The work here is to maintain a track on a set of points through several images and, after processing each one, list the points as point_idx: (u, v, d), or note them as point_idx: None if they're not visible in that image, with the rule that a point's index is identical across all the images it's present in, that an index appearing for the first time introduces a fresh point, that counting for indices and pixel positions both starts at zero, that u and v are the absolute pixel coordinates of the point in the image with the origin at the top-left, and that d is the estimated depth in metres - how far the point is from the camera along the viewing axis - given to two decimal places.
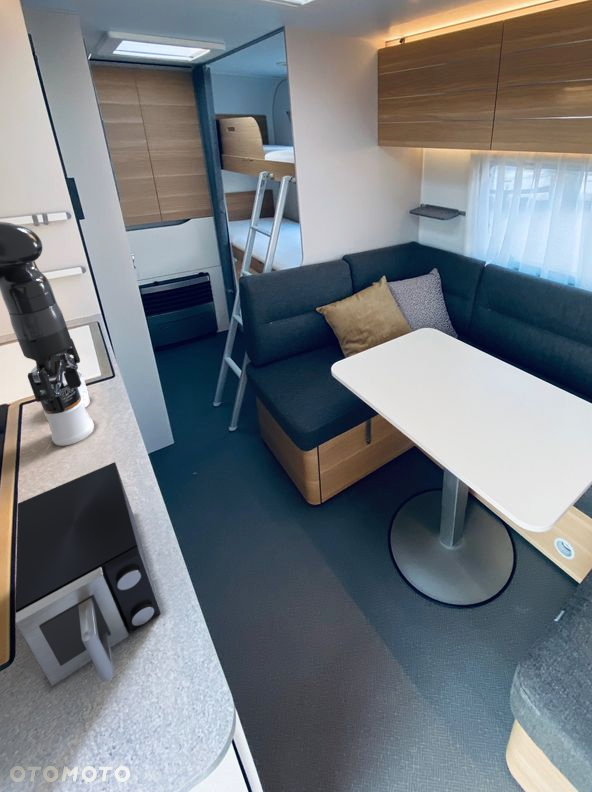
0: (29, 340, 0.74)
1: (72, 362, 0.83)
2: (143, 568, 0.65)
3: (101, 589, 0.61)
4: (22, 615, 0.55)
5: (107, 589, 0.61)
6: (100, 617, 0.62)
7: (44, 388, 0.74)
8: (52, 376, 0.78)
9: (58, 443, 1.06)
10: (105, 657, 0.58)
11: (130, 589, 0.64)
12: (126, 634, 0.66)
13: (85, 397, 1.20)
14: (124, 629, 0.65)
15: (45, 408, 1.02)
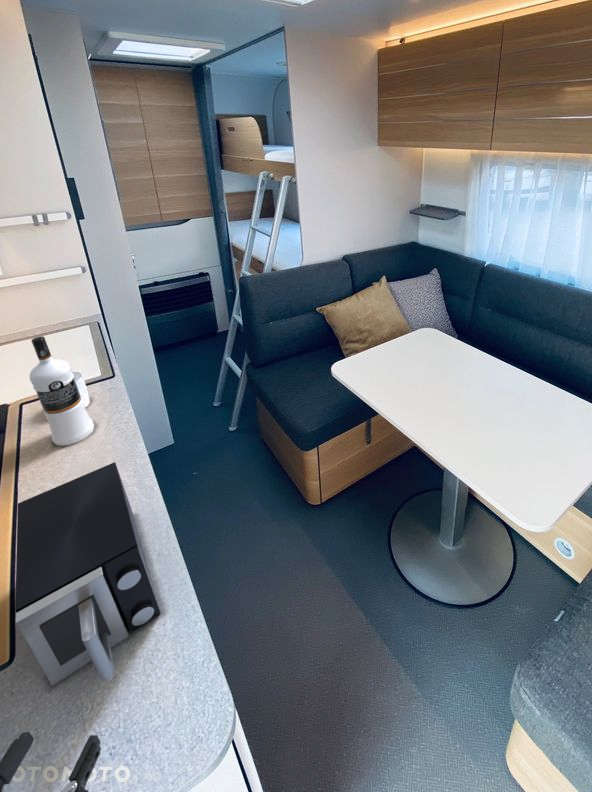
0: None
1: None
2: (143, 568, 0.65)
3: (101, 589, 0.61)
4: (22, 615, 0.55)
5: (107, 589, 0.61)
6: (100, 617, 0.62)
7: None
8: None
9: (58, 443, 1.06)
10: (105, 657, 0.58)
11: (130, 589, 0.64)
12: (126, 634, 0.66)
13: (85, 397, 1.20)
14: (124, 629, 0.65)
15: (45, 408, 1.02)
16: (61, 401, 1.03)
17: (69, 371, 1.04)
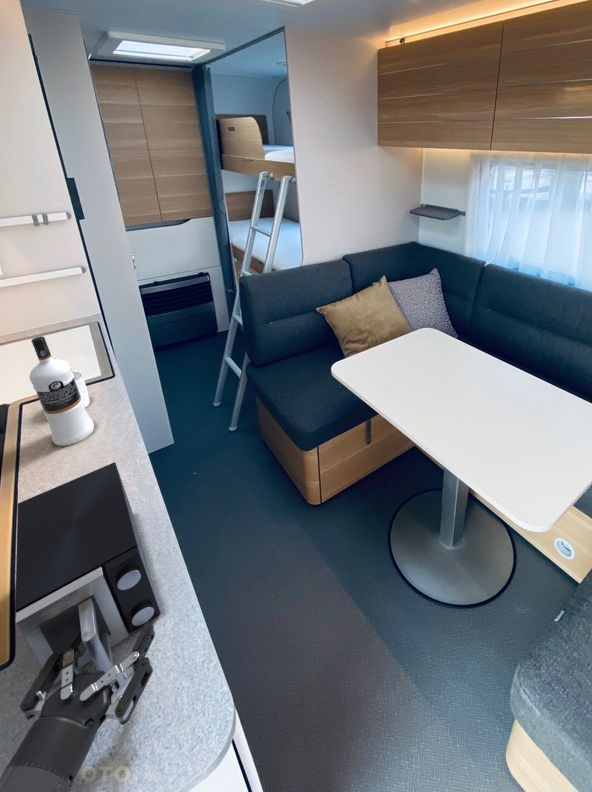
0: (70, 782, 0.47)
1: (68, 671, 0.55)
2: (143, 568, 0.65)
3: (101, 589, 0.61)
4: (22, 615, 0.55)
5: (107, 589, 0.61)
6: (100, 617, 0.62)
7: (138, 685, 0.54)
8: (109, 683, 0.54)
9: (58, 443, 1.06)
10: (105, 657, 0.58)
11: (130, 589, 0.64)
12: (126, 634, 0.66)
13: (85, 397, 1.20)
14: (124, 629, 0.65)
15: (45, 408, 1.02)
16: (61, 401, 1.03)
17: (69, 371, 1.04)
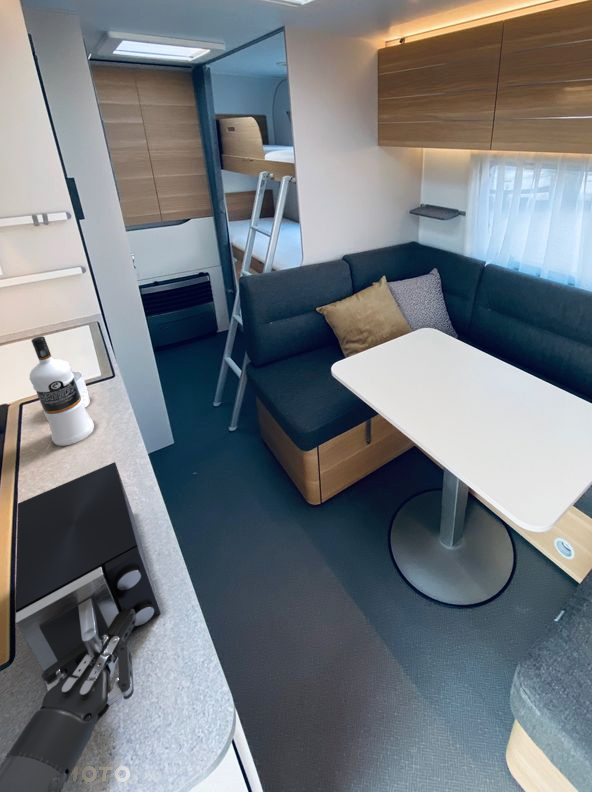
0: (66, 776, 0.47)
1: (86, 662, 0.56)
2: (143, 568, 0.65)
3: (101, 588, 0.61)
4: (22, 615, 0.55)
5: (107, 589, 0.61)
6: (100, 617, 0.62)
7: (129, 662, 0.56)
8: (109, 679, 0.55)
9: (58, 443, 1.06)
10: None
11: (130, 589, 0.64)
12: None
13: (85, 397, 1.20)
14: None
15: (45, 408, 1.02)
16: (61, 401, 1.03)
17: (69, 371, 1.04)
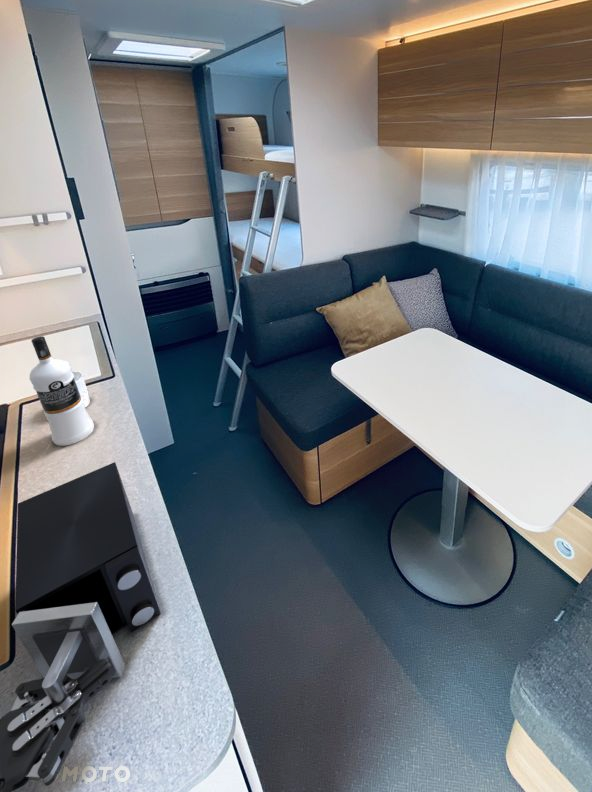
0: None
1: (42, 705, 0.52)
2: (143, 568, 0.65)
3: (90, 626, 0.56)
4: (20, 619, 0.55)
5: (96, 628, 0.57)
6: (90, 650, 0.58)
7: (67, 739, 0.49)
8: (45, 744, 0.49)
9: (58, 443, 1.06)
10: None
11: (130, 589, 0.64)
12: (118, 674, 0.61)
13: (85, 397, 1.20)
14: (115, 669, 0.61)
15: (45, 408, 1.02)
16: (61, 401, 1.03)
17: (69, 371, 1.04)
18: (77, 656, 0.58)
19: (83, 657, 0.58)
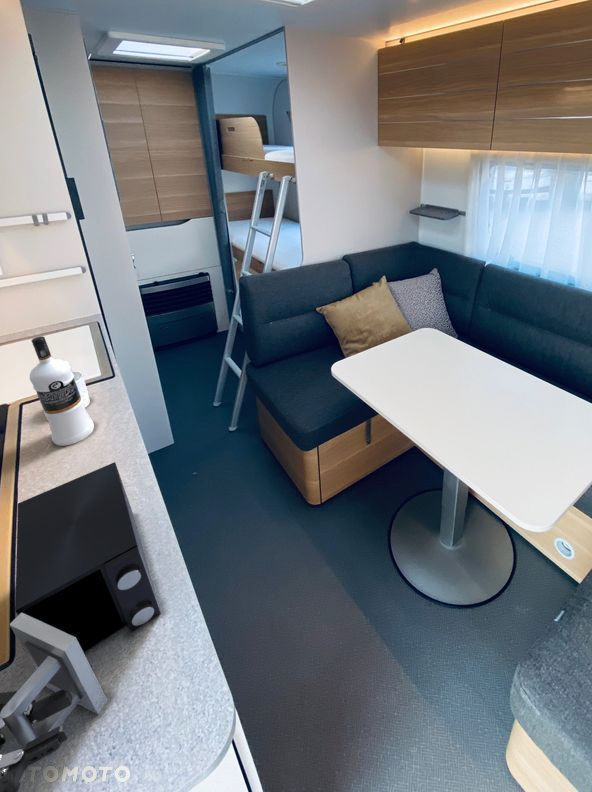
0: None
1: None
2: (143, 568, 0.65)
3: (66, 660, 0.53)
4: (17, 622, 0.55)
5: (71, 665, 0.53)
6: (68, 680, 0.55)
7: None
8: None
9: (58, 443, 1.06)
10: (23, 739, 0.50)
11: (130, 589, 0.64)
12: (95, 711, 0.57)
13: (85, 397, 1.20)
14: (93, 706, 0.57)
15: (45, 408, 1.02)
16: (61, 401, 1.03)
17: (69, 371, 1.04)
18: (60, 678, 0.56)
19: (65, 682, 0.56)
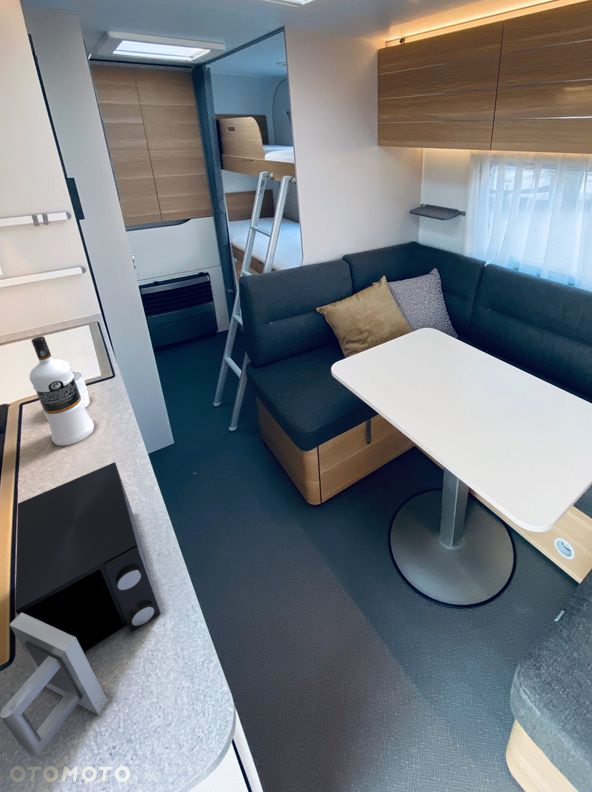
0: None
1: None
2: (143, 568, 0.65)
3: (66, 660, 0.53)
4: (17, 622, 0.55)
5: (71, 665, 0.53)
6: (68, 680, 0.55)
7: None
8: None
9: (58, 443, 1.06)
10: (23, 739, 0.50)
11: (130, 589, 0.64)
12: (95, 711, 0.57)
13: (85, 397, 1.20)
14: (93, 706, 0.57)
15: (45, 408, 1.02)
16: (61, 401, 1.03)
17: (69, 371, 1.04)
18: (60, 678, 0.56)
19: (65, 682, 0.56)
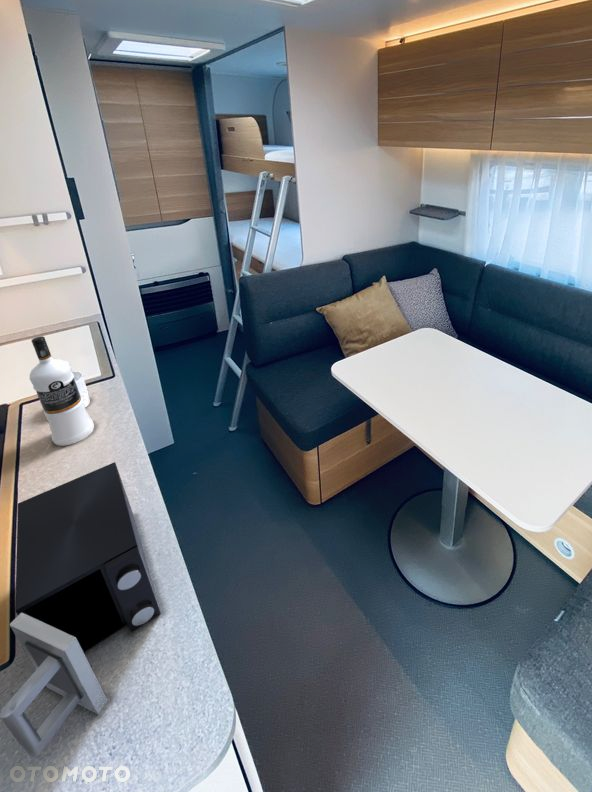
0: None
1: None
2: (143, 568, 0.65)
3: (66, 660, 0.53)
4: (17, 622, 0.55)
5: (71, 665, 0.53)
6: (68, 680, 0.55)
7: None
8: None
9: (58, 443, 1.06)
10: (23, 739, 0.50)
11: (130, 589, 0.64)
12: (95, 711, 0.57)
13: (85, 397, 1.20)
14: (93, 706, 0.57)
15: (45, 408, 1.02)
16: (61, 401, 1.03)
17: (69, 371, 1.04)
18: (60, 678, 0.56)
19: (65, 682, 0.56)
